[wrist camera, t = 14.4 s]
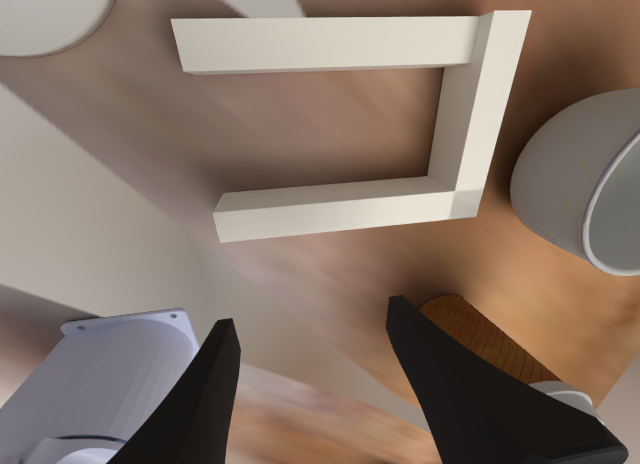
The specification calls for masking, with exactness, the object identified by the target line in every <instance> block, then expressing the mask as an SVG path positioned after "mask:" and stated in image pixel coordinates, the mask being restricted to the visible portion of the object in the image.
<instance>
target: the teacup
mask: <svg viewBox="0 0 640 464" xmlns="http://www.w3.org/2000/svg"><path fill="white" fill-rule="evenodd" d="M510 198H511V203H512V206H513V209H514V211H515V213H516V215H517V217H518V218H519V219H520V221H521V222H522V223H523V224H524V225H525V226H526V227H527V228H529V229H530V230H531V231H532V232H534V233H535V234H537V235H539V236H540V237H542V238H544V239H545V240H547V241H549V242H551V243H553V244H555V245H556V246H558V247H560V248H562V249H564V250H566V251H568V252H570V253H572V254H574V255H576V256H578V257H580V258H582V259H584V260H586V261H588V262H589V263H590V264H591V265H592V266H594V267H596V268H597V269H599V270H601V271H604V272H606V273H609V274H613V275H620V276H632V275H639V274H640V87H639V88H630V89H622V90H616V91H611V92H606V93H602V94H598V95H595V96H591V97H588V98H586V99H583V100H581V101H579V102H577V103H574V104H572V105H570V106H568V107H567V108H565V109H563V110H562V111H560V112H559V113H557V114H556V115H555V116H553V117H552V118H551V119H550V120H548V121H547V122H546V123H545V124H544V125H543V126H542V127H541V128H540V129H539V130H538V131H537V132H536V133H535V134H534V135H533V136H532V138H531V139H530V140H529V141H528V143H527V144H526V146H525V147H524V149H523V151H522V152H521V154H520V156H519V158H518V160H517V162H516V165H515V167H514V170H513V174H512V177H511V185H510Z"/></svg>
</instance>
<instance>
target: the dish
mask: <svg viewBox="0 0 640 464" xmlns="http://www.w3.org/2000/svg"><path fill="white" fill-rule="evenodd" d="M114 1H115V0H0V55H2V56H9V57H27V58H31V57H42V56H49V55H53V54H57V53H61V52H64V51H66V50H69V49H71V48H73V47H75V46H77V45H79V44H80V43H82V42H83V41H85V40H86V39H87V38H89V37H90V36H91V35H92V34H93V33H94V32H95V31H96V30H97V29H98V28H99V27H100V26H101V25H102V23H103V22H104V20H105V19H106V17H107V15H108V14H109V12H110V11H111V9H112V6H113V4H114Z"/></svg>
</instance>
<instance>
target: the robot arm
mask: <svg viewBox="0 0 640 464" xmlns="http://www.w3.org/2000/svg"><path fill="white" fill-rule="evenodd" d="M173 314H176V315H173ZM60 329H61V331H62V333H63V334H64V335H65V336H64V337H63V338H62V340H61V341H60V342H59V343H58V344H57V345H56V346H55V347H54V349H53V350H52V351H51V352H50V353H49V354H48V355H47V357H46V358H45V359H44V360H43V361H42V362H41V363H40V364H39V366H38V367H37V368H36V369H35V370H34V371H33V372H32V374H31V375H30V376H29V377H28V378H27V379H26V380H25V381H24V383H23V384H22V385H21V386H20V387H19V388H18V389H17V390H16V392H15V393H14V394H13V395H12V396H11V397H10V398H9V400H8V401H7V402H6V403H5V404H4V405H3V407H2V408H1V409H0V464H225V456H226V446H227V439H228V432H229V426H230V421H231V415H232V410H233V404H234V399H235V394H236V388H237V382H238V377H239V368H240V354H241V353H240V352H241V349H240V345H239V341H238V337H237V334H236V330H235V327H234V323H233V319H232V318H230V319H222V320H218V321H217V322H216V323H215V325H214V326H213V328H212V330H211V331H210V333H209V335H208V337H207V338H206V340H205V341H204V343H203V345H202V346H201V347H200V344H199V341H198V339H197V336H196V333H195V331H194V328H193V326H192V323H191V320H190V318H189V315H188V312H187V311H186V309H184V308H174V309H167V310H159V311H151V312H143V313H135V314H127V315H119V316H112V317H103V318H96V319H88V320H80V321H72V322H66V323H64V324H63V325H62V326H61V328H60ZM386 330H387V333H388V336H389V339H390V342H391V344H392V347H393V350H394V352H395V354H396V356H397V358H398V360H399V362H400V364H401V366H402V368H403V370H404V372H405V374H406V376H407V378H408V380H409V382H410V384H411V386H412V388H413V390H414V392H415V394H416V396H417V399H418V401H419V403H420V405H421V407H422V410H423V412H424V415H425V418H426V420H427V423H428V425H429V428H430V430H431V433H432V436H433V438H434V441H435V444H436V447H437V449H438V452H439V455H440V457H441V460H442V463H443V464H623V463H624V462H625V461H626V459H627V458H628V450H627V448H626V447H625V446H624V445H623V444H622V443H621V442H620V441H619V440H618V439H617V438H616V437H615V436H614V435H613V434H612V433H611V432H610V431H609V430H608V429H607V428H606V427H605V426H604V425H603V424H602V423H601V422H600V421H599V420H598V419H597V418H596V417H594V416H592V415H590V414H588V413H586V412H583V411H581V410H579V409H577V408H575V407H572V406H570V405H568V404H566V403H563V402H561V401H559V400H557V399H555V398H553V397H551V396H549V395H547V394H545V393H543V392H541V391H539V390H537V389H535V388H533V387H531V386H529V385H527V384H525V383H523V382H522V381H520V380H518V379H516V378H514V377H513V376H511V375H509V374H507V373H506V372H504V371H502V370H500V369H499V368H497V367H495V366H494V365H492V364H491V363H489V362H487V361H486V360H484V359H483V358H481V357H480V356H478V355H477V354H475V353H474V352H472V351H471V350H469V349H468V348H466V347H465V346H463V345H462V344H461V343H459V342H458V341H457V340H455V339H454V338H452V337H451V336H450V335H448V334H447V333H446V332H445V331H443V330H442V329H441V328H440V327H438V326H437V325H436V324H435V323H433V322H432V321H431V320H430V319H429V318H427V317H426V316H425V315H424V314H423V313H422V312H420V311H419V310H418V309H417V308H416V307H415V306H414V305H412V304H411V303H410V302H409V301H408V300H407V299H405V298H404V297H403V296H402V295H400V296H393V297H389V305H388V313H387V322H386Z"/></svg>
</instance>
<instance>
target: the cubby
mask: <svg viewBox="0 0 640 464" xmlns="http://www.w3.org/2000/svg"><path fill="white" fill-rule="evenodd" d="M531 12H532V10H524V11H492V12H490V13H487V14H485V15H482V16H458V17H338V18H218V19H171V23H172V27H173V31H174V35H175V39H176V43H177V48H178V52H179V56H180V60H181V64H182V68H183V72H187V73H191V74H195V75H219V74H250V73H282V72H313V71H345V70H376V69H408V68H439V67H445V68H444V75H443V81H442V87H441V93H440V100H439V106H438V112H437V118H436V124H435V131H434V137H433V143H432V149H431V156H430V162H429V168H428V174H427V176H424V177H412V178H400V179H388V180H375V181H363V182H351V183H339V184H326V185H314V186H302V187H289V188H277V189H265V190H253V191H240V192H228V193H223V195H222V197H221V198H220V200H219V202H218V204H217V206H216V207H215V209H214V211H213V217H214V221H215V225H216V228H217V232H218V236H219V240H220V243H223V242H233V241H243V240H252V239H262V238H272V237H282V236H291V235H301V234H311V233H321V232H331V231H340V230H350V229H360V228H370V227H379V226H389V225H399V224H409V223H419V222H428V221H438V220H448V219H458V218H467V217H476V215H477V211H478V208H479V204H480V200H481V196H482V193H483V189H484V185H485V182H486V178H487V174H488V171H489V167H490V163H491V160H492V156H493V152H494V149H495V145H496V141H497V138H498V134H499V130H500V126H501V123H502V119H503V115H504V112H505V108H506V104H507V101H508V97H509V93H510V90H511V86H512V82H513V79H514V75H515V71H516V68H517V64H518V60H519V56H520V53H521V49H522V45H523V42H524V38H525V34H526V31H527V27H528V23H529V20H530V16H531Z"/></svg>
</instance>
